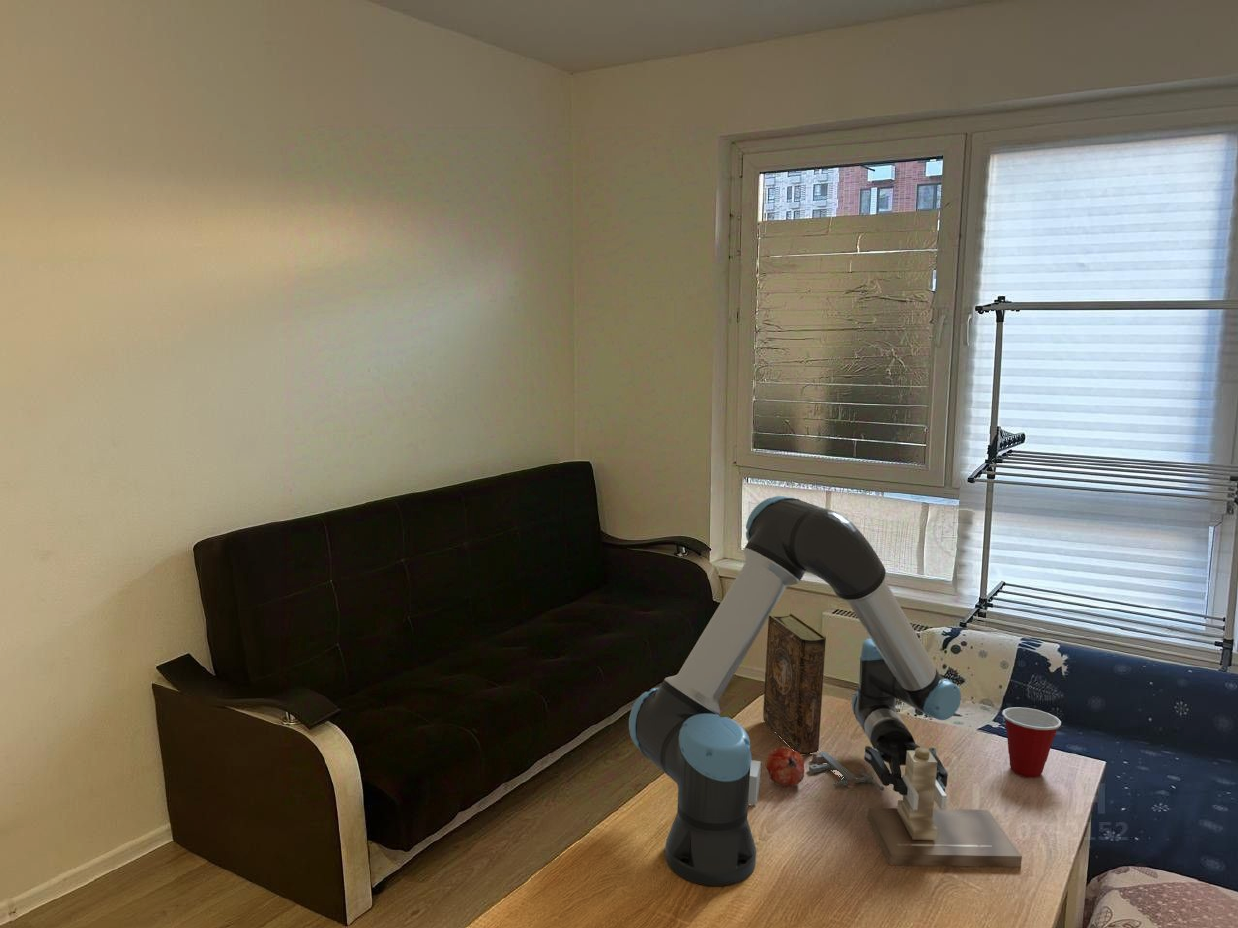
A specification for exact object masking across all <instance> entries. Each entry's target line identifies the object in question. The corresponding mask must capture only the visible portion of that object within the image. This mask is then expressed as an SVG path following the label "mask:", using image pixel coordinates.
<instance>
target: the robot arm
mask: <svg viewBox="0 0 1238 928" xmlns="http://www.w3.org/2000/svg"><path fill="white" fill-rule="evenodd" d="M745 524H746V525H745V529H746V530H747V531H746V532H745V537H746V540H747V543H746V545H745V546H744V548H743V551H742V552H743V555H744V558H745V562H744V563H743V566H742V567H741V569H740V571H739V573H738V574H737V576H736V578H735V579H734V581H733V582H732V583H731V585H730V587H729V589H728V590H727V592H726V594H725V596H724V597H723V599H722V601H721V602H720V604H719V605H718V607H717V608H716V610H715V612H714V614H713V615H712V617H711V618H710V620H709V622H708V624H707V625H706V626H705V628H704V630H703V632H702V633H701V635H700V636H699V638H698V640H697V641H696V644H695V645H694V646H693V649H692V650H691V651H690V653H689V654H688V656H687V658H686V659H685V661H684V663H683V664H682V667H681V668H680V670H679V671H678V673H677V674H676V675H672V676H668V677H665V678H664V679H663V681H662V683H661V685H660V686H659V687H654V688H653V687H652V688H651V689H649V691H645V692H643V693H642V694H641V695H639V697H638V698H637V699H636V701H635V702H634V704H633V705H632V707H631V710H630V714H629V718H628V730H629V735H630V737H631V741H632V742H633V744H634V745H635V746H636V747H637V748H638V750H639V752H640V753H641V754H642V755H643V757H645V758H646V759H647V760H650V761H651V762H652V763H653V764H654V765H656V767H658V769H660V770H661V771H662V772H663V773H664V774H665V775H667V776H668V777H669V778H670V779H671V780H672V781H674V783H676V785H677V810H676V815H675V817H674V819H673V822H672V824H671V827H670V830H669V832H668V835H667V837H666V841H665V853H664V854H665V861H666V863H667V865H668V866H669V868H670V869H671V870H672V872H674V874H676V875H678V876H679V877H681V878H683V879H684V880H685V881H686V880H687V881H688V882H692V883H695V884H697V885H703V886H710V887H711V886H712V887H719V886H721V887H723V886H729V885H733V884H737V883H740V882H742V881H744V880H745V879H747V878H749V877H750V875H751V874H752V873H753V872H754V870H755V869H756V868H755V867H756V864H757V863H756V862H757V861H756V860H757V848H756V844H755V840H754V837H753V833H752V831H751V828H750V827H751V826H750V823H749V820H748V813H749V812H748V811H749V808H748V807H749V805H748V796H749V781H750V766H751V760H752V752H751V740H750V736H749V734H748V732H747V731H746V730H745V728H743V726H742V725H740V723H738V722H737V721H735V720H734V719H732V718H730V717H727V716H724V717H723V716H722V717H721V716H720V715H721V709H720V705H719V701H720V698H721V697H722V695H724V692H725V691H726V688H727V687H728V685H729V683H730V682H731V680H732V679H733V677H734V675H735V674H736V673H737V670H738V668H739V667H740V666H741V664H742V661H744V659H745V657H746V656H747V654H748V652H749V650H750V648H752V645H753V644H754V642H755V640H756V639H757V637H758V635H759V633H760V632H761V630H762V629H763V627H764V625H765V623H766V622H767V621H768V619H769V616H771V615H772V612H773V610H774V609H775V607H776V605H777V603H778V602H779V600H780V598H781V597H782V595H783V593H784V592H785V590H786V589H787V587H790V586H794V585H798V584H799V583H800V582H801V580H802V579H803V577H804V575H805V573H806V572H807V573H811V574H813V575H814V576H815V577H818V578H820V579H821V580H822V581H824V582H825V583H826V584H828V585H829V586H830V588H831V589H832V590H833V591H834V593H835V595H836V596H837V597H838V598H839V599H841V600H842V601H847V603H848V604H849V606H850V608H851V609H852V611H853V612H854V614H855V615H856V617H857V619H858V620H859V622H860V624H861V625H862V627H863V628H864V630H865V632H866V633H867V635H868V636H869V638H866V639H865V640H864V641H863V642H862V645H861V646H862V647H861V653H860V657H859V676H858V689H857V691H856V692H855V693H854V695H853V696H852V700H851V708H852V711H853V715H854V717H855V719H856V721H857V722H858V723H859V725H860V727H861V728H862V730H863V732H864V734H865V735H866V737H867V739H868V740H869V742H870V745H871V746H870V745H866V746H865V747H864V756H863V757H864V758H863V759H864V761H865V762H867V764H869V765H870V766H871V768H872V769H873V771H874V773H875V774H876V776H877V777H878V779H879V781H880V782H881V784H882V786H886V787H888V786H890V785H893V788H892V789H893V792H896V793H898V794H899V795H901V796H903V795H905V797H906V798H907V800H908V802H909V804H910V805H911V807H912V809H913V810H917V809H918V798H919V795H918V793H917V791H916V790H915V788H914V786H913V785H912V783H911V781H910V780H909V778H908V776H907V775H905V774H902V769H901V766H906V755H907V750H909V751H915V749H916V748H922V747H921V746H920V745H918V744H916V742H915V739H914V737H913V735H912V733H911V732H910V730H909V729H908V727H907V726H906V724H905V723H904V721H903V720H902V718H901V717H900V715H899V714H898V712H897V711H896V703H897V702H896V701H897V699H898V701H901V702H903V703H905V704H907V705H908V706H910V707H912V708H914V709H915V710H917V711H919V712H922V713H923V715H925V716H930V717H932V718H933V719H936V720H938V721H947V720H949V719H950V718H952V717H954V714H955V713H956V712H957V711H958V710H959V708H960V705H961V701H962V692H961V689H960V687H959V686H958V685H957V684H956V683H954V682H952V681H951V680H950V679H948V678H944V677H943V676H942V675H941V673H940V672H939V671H938V668H936V665H935V664H934V663H933V661H932V659H931V657H930V656H929V654H928V652H927V651H926V648H925V647H924V644H922V641H921V640H920V638H919V637H918V635H917V633H916V631H915V630H914V627H913V626H912V624H911V622H910V621H909V619H908V618H907V615H906V614H905V612H904V610H903V609H902V607H901V605H900V603H899V602H898V600H897V598H896V597H895V595H894V593H893V591H892V590H891V588H890V587H889V585H888V583H887V581H886V578H887V570H886V567H885V565H884V564H883V563H882V560H881V559H880V557H879V555H878V554H877V552H876V551H875V549H874V548H873V547H872V545H871V544H870V542H869V541H868V540H867V538H866V537H865V535H864V534H863V533H862V532H861V531H860V529H858V528H857V527H856V525H855V524H854V523H852V521H850V519H848V517H845V516H844V515H842V514H841V513H839V512H837V511H835V510H831V509H828V508H824V507H821V506H818V505H815V504H812V503H810V502H807V501H805V500H804V501H803V500H801V499H799V498H796V497H787V496H781V495H777V496H772V497H769V498H766V499H764V500H762V501H761V502H760V503H758V504H757V505H756V506H755V507H754V509H753V510H752V511H751V512H750V514H749V516H748V519H747V520H746V523H745ZM928 750H929V751H930V752H931V754H932V755H933V757H934V758H935V759H936V761H937V773H936V784H935V794H934V803H936V805H937V807H938V809H940V810H945V809H947V808H946V807H947V799H948V797H947V794H946V788H947V786H948V776H949V773H948V771H947V769H946V768H945V766H944V765H943V763H942V761H941V760H940V758H939V756H938V755H937V749H936V748H935V747H929V749H928ZM885 762H886V763H888V766H889V767H888V766H887V764H886V763H885Z"/></svg>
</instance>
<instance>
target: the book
mask: <svg viewBox="0 0 1238 928" xmlns="http://www.w3.org/2000/svg"><path fill="white" fill-rule="evenodd" d="M767 621H768V623H767V639H766V640H767V641H766V656H765V657H766V658H765V675H764V689H763V692H764V694H763V709H762V710H763V711H762V717H763V718H762V719H763V722H764V721H765V722H764V723H765V724H766V723H767V724H766V725H767V726H768V728H769V729H771V728H772V729H771V730H772V731H773V733H775V732H776V733H777V734H776V733H775V734H776V735H777V736H778V735H779V736H780V737H781V738H782V739H783V740H784V741H785V742H786V743H787V744H788V745H789V746H790V747H791V748H792V749H793V750H794V751H797V752H799V753H800V754H810V753H814V752H817V751H818V752H819V748H820V747H819V746H820V732H821V719H822V718H821V717H822V716H821V715H822V703H823V702H822V701H823V687H824V674H825V672H824V671H825V658H826V657H825V656H826V642H827V636H826V635H824V634H823V633H821V632H820V631H818V629H816V628H814V627H813V626H811V625H810V624H808V623H807V622H805V621H804V620H803V619H802V618H800V617H798V616H797V615H795V614H794V613H789V614H788V615H786V616H773V615H772V614H770V615H769V617H768V619H767ZM779 736H778V737H779ZM780 737H779V738H780ZM781 738H780V739H781ZM782 739H781V740H782ZM783 740H782V741H783ZM784 741H783V742H784ZM785 742H784V743H785ZM786 743H785V744H786ZM787 744H786V745H787ZM788 745H787V746H788ZM789 746H788V747H789ZM790 747H789V748H790ZM791 748H790V749H791ZM792 749H791V750H792ZM810 755H811V754H810Z"/></svg>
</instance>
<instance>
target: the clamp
mask: <svg viewBox="0 0 1238 928" xmlns="http://www.w3.org/2000/svg"><path fill="white" fill-rule="evenodd" d="M811 755H812V757H811V761H812V762H814V761H816V762H815V764H811V765H808V771H809V772H810V773H811V774H816V773H821V771H823V770H824V771H825V770H829V769H830V770H832V771H833V770H837V771H839V772H840V773H841V774H842V775H843V776H842V777H841V776H840V775H839V776H840V777H839V776H838V775H835V776H836V777H837V776H838V777H839V778H838V777H837V778H838V779H839V780H840V781H838V782H835V783H832V786H833V787H837V786H838V787H841V786H847V787H848V788H854V787H856V784H858V783H864V782H865V783H872V784H873V785H875V786H876V788H878V789H879V791H880V792H884V791H885V787H884V785H882V786H881V785H880V784H879V783H878V782H877V781H875V779H874V775H872V774H867V773H865V772H864V770H863V769H859V771H858V774H859V775H863V777H859V778H858V777H856V776H855V775H854V774H852V773H851V772H850V771H849V770H848V769H846V767H844V766H843V765H842V764H841V763H840V762H839V761H837V760H836V758H834V757H833V756H832V755H830V754H829V753H828V752H827V751H820V752H819V751H818V752H814V753H813V754H811ZM823 763H827V764H824V765H823ZM818 764H819V765H818ZM830 770H829V771H830ZM834 773H835V772H834ZM834 773H832V774H833V775H834ZM843 777H844V778H843ZM842 778H843V779H842ZM841 779H842V780H841Z"/></svg>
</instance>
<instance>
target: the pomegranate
mask: <svg viewBox="0 0 1238 928" xmlns="http://www.w3.org/2000/svg"><path fill="white" fill-rule="evenodd" d="M804 765H805V761H804V758H803V755H801V754H800V753H799V752H797V751H793V750H792V749H791V748H790V747H789V746H779V747H778V746H777V747H776V748H774V749H773V750H772V751H771V752H770V753H769V756H768V757H767V758H766V761H765V768H766V771H767V773H768V774H769V777H770V780H771V781H772V782H773V783H775V784H776V785H778V786H781V787H787V786H790V787H796V786H797V785H799V784H800V783H801V782H802V781H803V780H804V777H805V766H804Z"/></svg>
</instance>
